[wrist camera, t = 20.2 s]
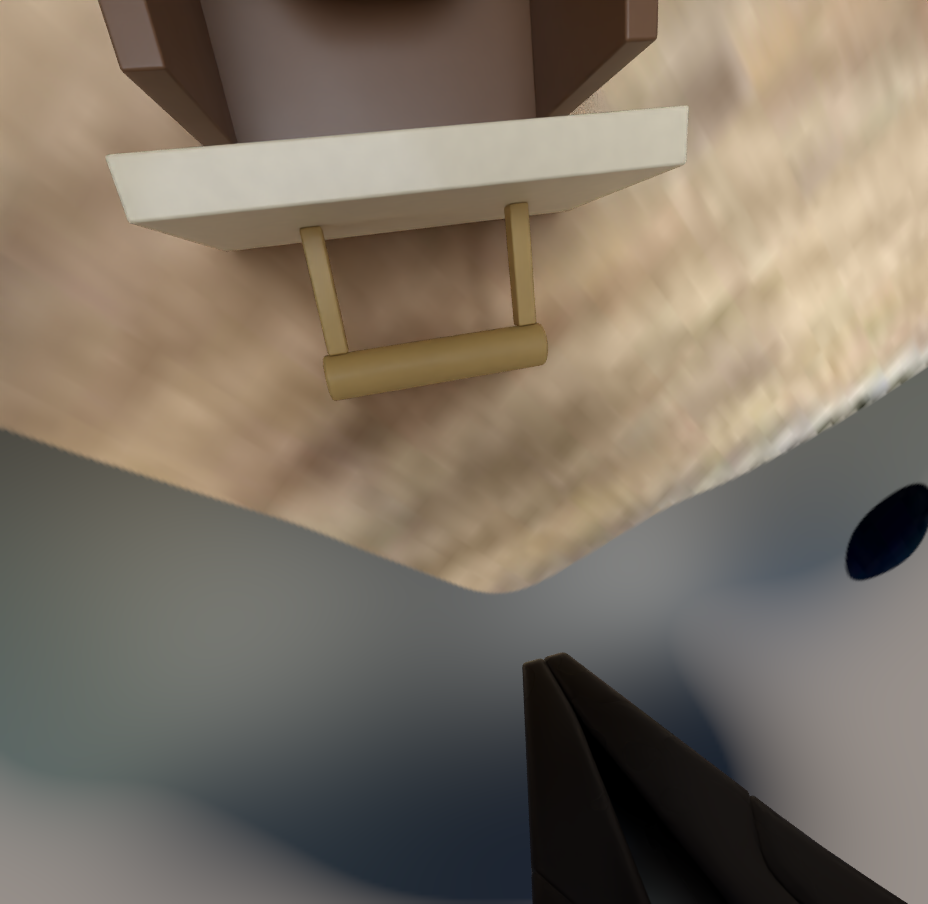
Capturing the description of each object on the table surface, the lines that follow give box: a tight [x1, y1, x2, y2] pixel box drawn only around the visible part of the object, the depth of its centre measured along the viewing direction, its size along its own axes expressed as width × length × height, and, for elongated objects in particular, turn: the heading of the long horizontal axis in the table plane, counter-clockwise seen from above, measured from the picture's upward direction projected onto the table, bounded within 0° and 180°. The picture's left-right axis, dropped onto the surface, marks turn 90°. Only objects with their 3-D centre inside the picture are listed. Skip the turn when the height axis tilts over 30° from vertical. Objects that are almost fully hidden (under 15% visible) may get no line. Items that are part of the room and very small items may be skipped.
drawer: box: [98, 0, 688, 401], centre depth 11 cm, size 19×12×7 cm, turn 7°
